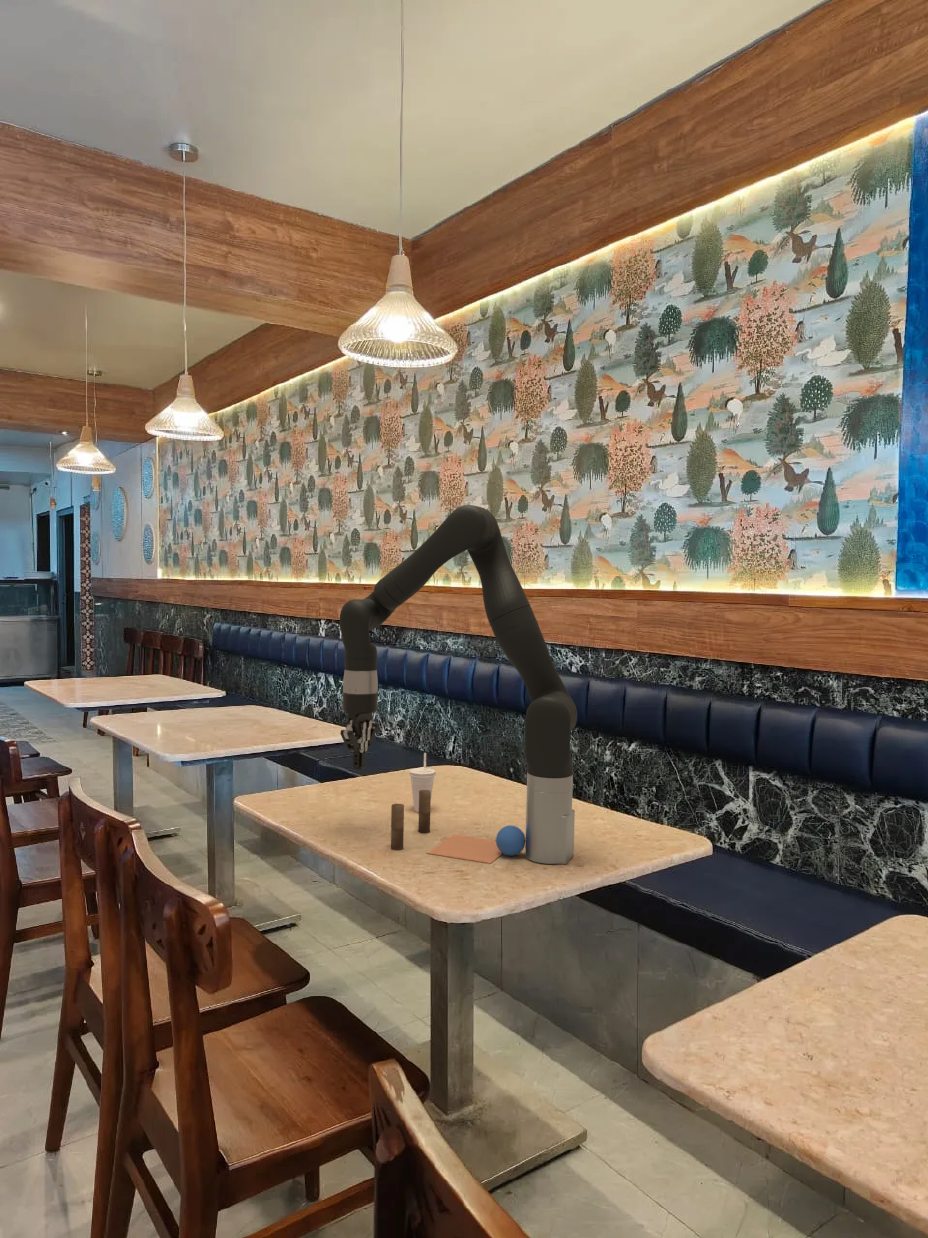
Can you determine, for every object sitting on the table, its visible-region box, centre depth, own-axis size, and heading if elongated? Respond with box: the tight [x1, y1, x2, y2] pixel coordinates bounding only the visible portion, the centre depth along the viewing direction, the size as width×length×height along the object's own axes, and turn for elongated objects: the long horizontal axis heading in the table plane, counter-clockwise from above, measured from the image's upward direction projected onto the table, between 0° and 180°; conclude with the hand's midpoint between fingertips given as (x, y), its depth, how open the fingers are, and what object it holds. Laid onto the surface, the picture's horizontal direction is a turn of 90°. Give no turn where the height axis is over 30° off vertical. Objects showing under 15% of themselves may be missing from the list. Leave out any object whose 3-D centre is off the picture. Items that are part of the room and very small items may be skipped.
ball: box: [495, 824, 526, 857], centre depth 174 cm, size 6×6×6 cm
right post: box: [417, 790, 432, 834], centre depth 188 cm, size 3×3×9 cm
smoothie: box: [409, 752, 436, 813], centre depth 206 cm, size 6×6×14 cm
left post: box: [390, 803, 405, 851], centre depth 176 cm, size 3×3×9 cm
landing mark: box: [426, 833, 504, 865], centre depth 177 cm, size 14×14×1 cm
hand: (359, 768), depth 187 cm, fingers closed
